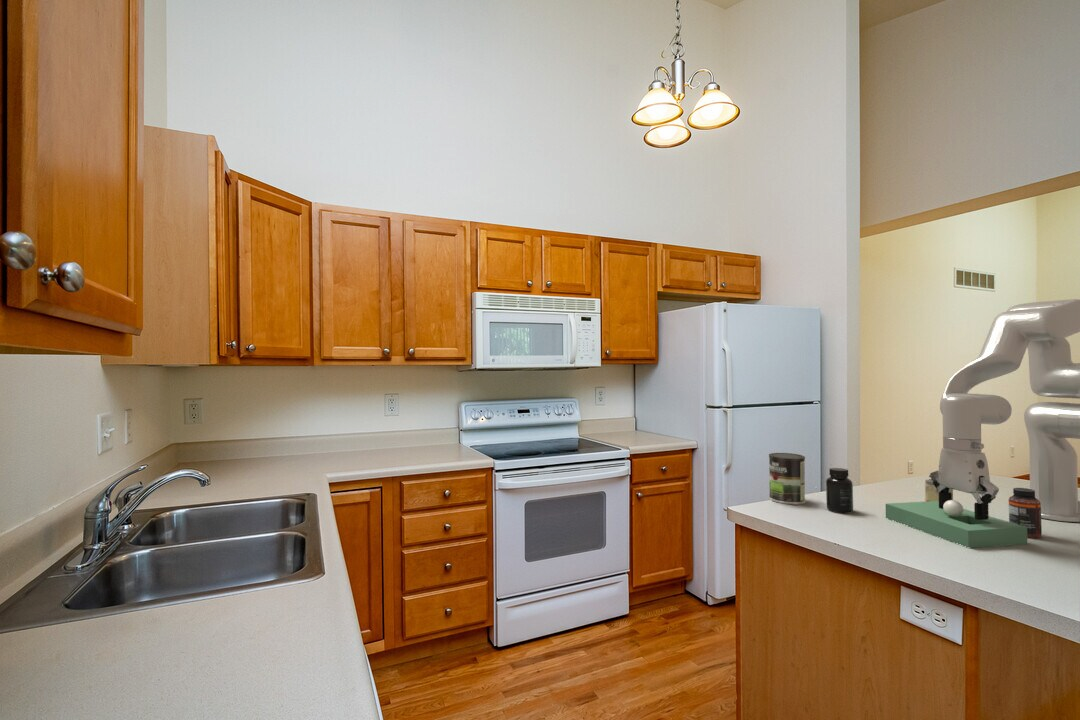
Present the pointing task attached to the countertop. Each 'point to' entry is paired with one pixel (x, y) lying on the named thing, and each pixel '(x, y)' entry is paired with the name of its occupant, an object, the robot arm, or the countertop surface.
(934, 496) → the lighter
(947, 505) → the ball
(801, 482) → the coffee can
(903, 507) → the putting board
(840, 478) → the supplement bottle
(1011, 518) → the supplement bottle
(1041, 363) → the robot arm
